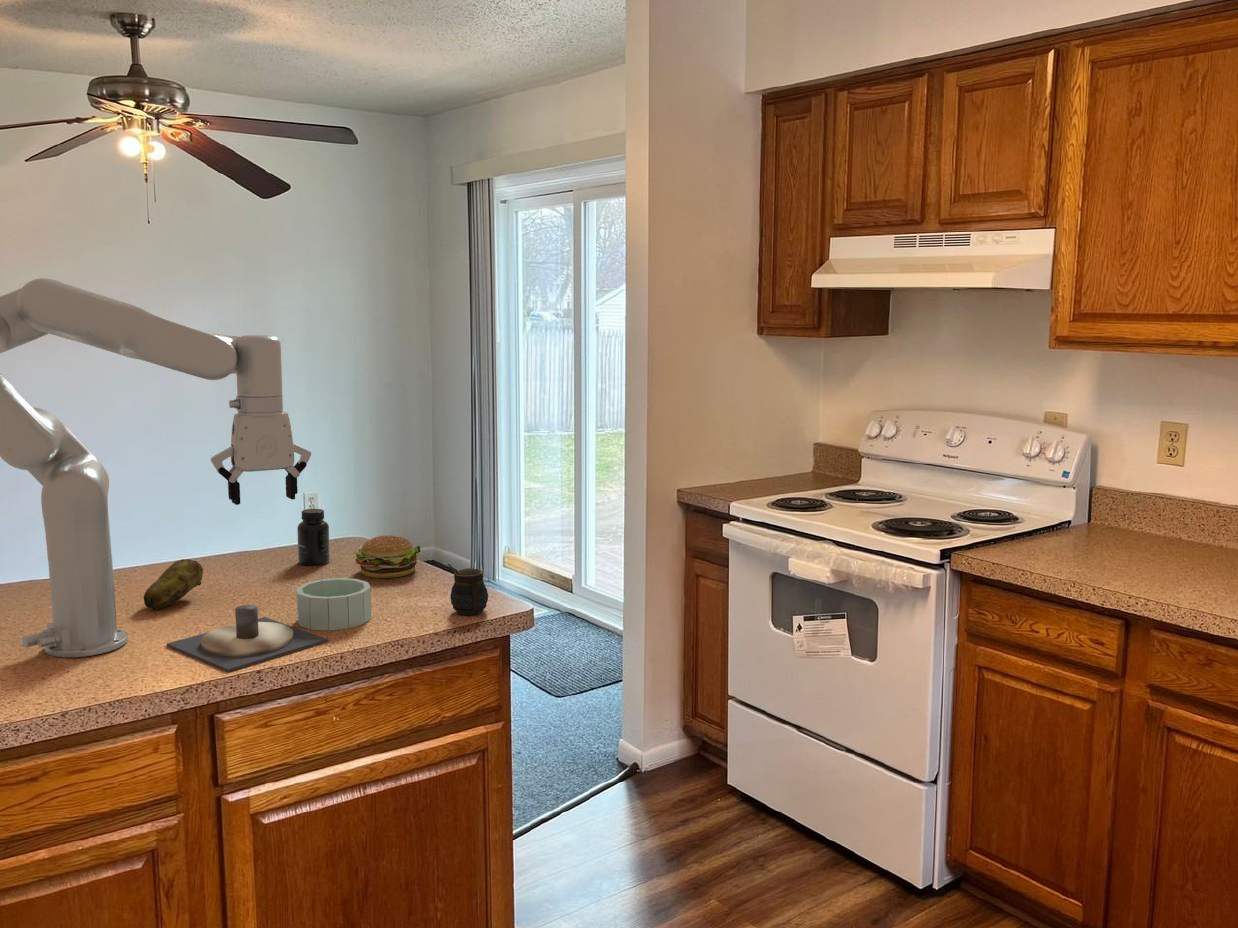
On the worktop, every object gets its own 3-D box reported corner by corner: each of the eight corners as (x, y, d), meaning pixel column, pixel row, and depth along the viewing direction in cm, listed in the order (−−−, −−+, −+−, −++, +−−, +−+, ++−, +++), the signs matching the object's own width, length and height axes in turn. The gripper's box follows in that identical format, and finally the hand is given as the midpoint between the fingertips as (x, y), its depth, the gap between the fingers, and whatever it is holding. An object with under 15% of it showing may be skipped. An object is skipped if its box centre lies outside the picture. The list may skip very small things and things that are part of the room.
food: (344, 580, 216) (343, 543, 214) (369, 563, 230) (368, 528, 228) (406, 583, 214) (406, 546, 213) (428, 565, 228) (427, 531, 226)
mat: (228, 672, 162) (228, 669, 162) (166, 646, 174) (166, 643, 174) (327, 641, 177) (327, 638, 177) (265, 619, 189) (264, 616, 189)
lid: (232, 662, 165) (231, 627, 164) (183, 642, 174) (181, 609, 173) (311, 639, 177) (309, 606, 176) (261, 621, 186) (260, 590, 185)
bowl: (326, 635, 181) (325, 602, 180) (283, 620, 188) (282, 589, 187) (384, 617, 191) (384, 586, 190) (341, 604, 199) (340, 574, 198)
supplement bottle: (292, 565, 226) (290, 512, 224) (307, 557, 233) (305, 506, 231) (321, 567, 225) (319, 514, 223) (335, 559, 232) (333, 508, 230)
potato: (130, 606, 196) (127, 566, 194) (193, 591, 206) (191, 553, 204) (151, 615, 190) (149, 574, 189) (215, 599, 200) (213, 560, 199)
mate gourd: (494, 614, 194) (494, 563, 192) (457, 620, 190) (456, 569, 188) (479, 603, 200) (478, 554, 198) (443, 610, 196) (442, 560, 194)
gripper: (214, 410, 171) (218, 509, 174) (315, 405, 181) (318, 499, 184) (203, 405, 177) (207, 501, 180) (302, 401, 187) (304, 493, 190)
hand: (263, 500), depth 182 cm, fingers open, 9 cm apart
